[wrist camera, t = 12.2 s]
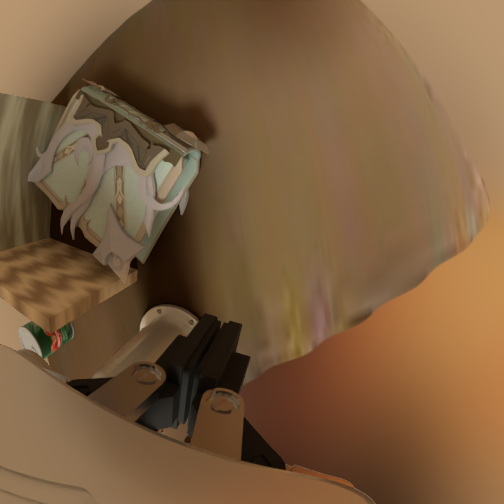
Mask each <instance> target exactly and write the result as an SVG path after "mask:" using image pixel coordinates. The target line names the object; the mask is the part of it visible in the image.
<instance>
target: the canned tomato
mask: <svg viewBox="0 0 504 504" xmlns="http://www.w3.org/2000/svg"><path fill="white" fill-rule="evenodd" d="M73 336H74V328H73V325H72V322H69V323H67V324H66V325H64V326H63V327H61V328H59V329H58V330H56V331H55V332H53V333H52V334H50V333H49V332H47V331H46V330H44V329H43V328H41V327H40V326H38V325H37V324H35V323H34V322H33V321H31V322H29V323H27V324H26V325H24V326H22V327H20V328H19V338H20V341H21V344H22V346H23V348H24V349H29V350H32V351H34V352H36V353H37V354H38V355H40V356H41V357H42V358H43V359H45V358H46V357H47V356H49V355H50V354H51V353H53V352H54V351H56V350H57V349H58V348H60V347H61V346H63V345H64V344H65V343H67V342H68V341H69V340H71V339H72V338H73Z"/></svg>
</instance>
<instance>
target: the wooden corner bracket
mask: <svg viewBox="0 0 504 504" xmlns="http://www.w3.org/2000/svg"><path fill="white" fill-rule="evenodd" d="M66 108H67V107H65V106H61V105H57V104H53V103H48V102H44V101H39V100H34V99H30V98H24V97H19V96H14V95H8V94H2V93H0V297H1V298H2V299H3V300H5V301H6V302H7V303H8V304H10V305H11V306H12V307H14V308H15V309H16V310H18V311H19V312H20V313H22V314H23V315H24V316H26V317H27V318H29V319H30V320H31V321H33V322H34V323H35V324H37V325H38V326H40V327H41V328H43V329H44V330H46V331H47V332H49V333H50V334H52V333H53V332H55V331H56V330H58V329H59V328H61V327H63V326H64V325H66V324H67V323H69V322H71V321H72V320H74V319H75V318H77V317H79V316H80V315H82V314H83V313H85V312H87V311H88V310H90V309H91V308H93V307H95V306H96V305H98V304H100V303H101V302H103V301H105V300H106V299H108V298H110V297H111V296H113V295H115V294H116V293H118V292H120V291H121V290H123V289H125V288H126V287H128V286H130V285H131V284H133V283H135V282H136V281H137V274H138V270H137V269H134V268H131V267H130V268H129V272H128V275H127V279H126V283H125V284H124V283H123V282H122V280H121V279H120V278H119V277H118V276H117V275H116V273H115V272H114V271H113V270H112V268H111V267H110V266H109V264H107V265H103V264H102V263H100V262H99V261H98V260H97V259H96V258H95V257H94V256H93V255H92V254H91V253H89V252H86V251H83V250H80V249H78V248H75V247H72V246H70V245H67V244H65V243H62V242H59V241H57V240H54V239H52V238H50V220H51V205H52V201H51V200H50V199H49V197H48V196H47V195H46V194H45V193H44V192H43V191H42V190H41V189H40V188H39V187H37V186H36V184H35V182H29V181H28V175H29V173H30V172H31V170H32V169H33V168H34V166H35V165H36V163H37V162H38V160H39V159H40V158H41V157H38V156H37V153H36V146H37V147H38V149H39V152H40V153H41V154H42V153H44V152H46V150H47V148H48V146H49V144H50V141H51V139H52V137H53V135H54V132H55V130H56V128H57V126H58V124H59V122H60V119H61V117H62V115H63V113H64V111H65V109H66Z"/></svg>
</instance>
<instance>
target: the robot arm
mask: <svg viewBox="0 0 504 504" xmlns="http://www.w3.org/2000/svg"><path fill="white" fill-rule="evenodd" d="M192 320H193V321H192ZM220 326H221V321H218V320H217V317H216V316H213V315H209V314H206V313H205V314H204V315H203V316H202V318H201V319H200V320H199V319H198V318H197V317H196V316H195V315H193V314H192V313H191V312H189V311H188V310H186V309H184V308H182V307H179V306H176V305H171V304H161V305H158V306H155V307H153V308H151V309H150V310H149V311H148V312H146V314H145V315H144V316H143V318H142V320H141V324H140V332H139V333H137V334H136V335H135V336H134V337H133V338H132V339H131V340H130V341H129V342H128V343H126V344H125V345H124V346H123V347H122V348H121V349H120V350H119V351H118V352H117V353H115V354H114V355H113V356H112V357H111V358H110V359H109V360H108V361H107V362H106V363H105V364H103V365H102V366H101V367H100V368H99V369H98V370H97V371H96V372H95V373H94V375H93V376H92V378H91V379H77V380H72V381H68V378H66V377H64V376H61V375H59V374H57V373H56V372H55V371H54V370H53V369H52V368H51V367H50V366H49V365H48V363H47V362H46V361H45V360H44V359H43V358H42V357H41V356H40V355H38V354H37V353H36V352H34V351H32V350H29V349H20V350H17V351H16V350H14V349H12V348H10V347H7V346H4V345H1V344H0V504H375V503H374V501H373V500H372V499H371V498H370V497H369V496H367V495H366V494H364V493H362V492H361V491H359V490H357V489H355V488H354V486H353V485H352V484H351V483H350V482H348V481H346V480H344V479H340V478H337V477H333V476H329V475H325V474H322V473H319V472H315V471H312V470H309V469H306V468H303V467H300V466H297V465H294V466H293V467H292V466H289V465H286V464H285V463H284V461H283V460H282V458H281V457H280V456H279V455H278V454H277V453H276V452H275V451H274V450H273V449H272V448H271V447H270V445H269V444H268V443H267V442H266V441H265V440H264V439H263V438H262V437H261V436H260V434H259V433H258V432H257V431H256V430H255V429H254V428H253V427H252V425H251V424H250V423H249V422H248V421H247V420H246V419H245V417H244V401H243V400H242V398H241V397H240V396H239V393H240V391H241V388H242V385H243V381H244V378H245V375H246V371H247V368H248V364H249V361H250V356H247V355H243V354H240V353H236V349H237V345H238V340H239V336H240V332H241V328H242V324H240V323H236V322H233V321H229V323H225V322H224V324H223V325H222V327H221V329H220ZM188 416H189V417H188ZM187 418H188V432H187V433H188V435H189V436H190V438H191V443H190V445H189V444H186V443H184V442H181V441H178V440H176V439H173V438H170V437H168V436H166V435H163V434H162V433H163V431H164V428H168V427H172V428H174V429H177V427H178V425H179V423H182V424H185V422H186V420H187Z"/></svg>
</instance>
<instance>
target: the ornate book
mask: <svg viewBox="0 0 504 504" xmlns="http://www.w3.org/2000/svg"><path fill="white" fill-rule="evenodd" d="M83 80H84V79H83ZM85 81H87V80H85ZM88 82H89V84H91V85H93V86H86V87H83V88H81V89H79V90H78V91H77V92H76V93H74V95H73V96H72V98H71V100H70V102H69V104H68V106H67V108H66V109H65V111H64V113H63V115H62V117H61V119H60V122H59V124H58V126H57V128H56V130H55V132H54V135H53V137H52V139H51V141H50V144H49V146H48V148H47V150H46V152H44V153H42V154H41V153H40V152H39V149H38V147H37V146H36V153H37V156H38V157H41V158H40V159H39V160H38V162H37V163H36V165H35V166H34V168H33V169H32V170H31V172H30V173H29V175H28V181H29V182H35V184H36V186H37V187H39V188H40V189H41V190H42V191H43V192H44V193H45V194H46V195H47V196H48V197H49V199H50V200H51V201H52V202H53V204H54V205H55V206H56V208H57V209H58V210H63V211H64V212H63V214H62V217H61V223H60V226H61V234H63V228H64V225H65V224H66V222H67V221H68V220H69V221H70V222H71V225H70V229H71V234H72V238H73V240H74V233H75V227H76V226H77V227H79V228H80V229H81V230H82V231H83V234H84V236H85V238H86V239H87V240H89V241H90V242H91V243H92V244H94V245H95V246H96V247H97V249H96V250H95V251H94V253H93V254H92V255H93V256H94V257H95V258H96V259H97V260H98V261H99V262H100V263H102V264H103V265H107V264H109V266H110V267H111V268H112V270H113V271H114V272H115V273H116V275H117V276H118V277H119V278H120V279H121V280H122V282H123V283H124V284H125V283H126V279H127V275H128V272H129V268H130V263H131V261H132V259H133V258H134V257H136V258H137V259H138V260H139V261H140V262H141V263H143V264H144V263H145V261H146V259H147V257H148V256H149V254H150V252H151V250H152V248H153V247H154V245H155V243H156V241H157V240H158V238H159V236H160V234H161V233H162V231H163V229H164V228H165V226H166V224H167V223H168V221H169V219H170V217H171V216H172V214H173V213H174V211H175V209H176V208H177V206H178V204H179V206H180V213H181V215H183V213H184V210H185V208H186V206H187V202H188V198H189V187H190V185H191V184H192V182H193V181H194V179H195V178H196V176H197V175H198V173H199V166H200V157H201V151H202V152H204V153H206V154H208V155H209V151H208V146H207V145H206V144H205V143H203V142H202V141H201V140H200V139H199V138H197V137H196V136H195V134H194V133H193V132H190V131H185V130H183V129H182V128H180V127H179V126H178V125H176V124H175V123H172V124H168V125H164V126H165V127H164V126H163V125H161V124H160V123H158V122H157V121H156V120H154V119H152V118H150V117H148V116H147V115H145V114H143V113H141V112H140V111H138V110H137V109H135V107H133V106H131V105H129V104H128V103H126V102H125V101H122V100H121V99H118V98H116V97H115V96H116V95H117V94H115V93H114V92H112V91H110V90H109V89H106V88H104V87H103V86H101V85H97V84H96V83H94V82H91V81H87V83H88ZM108 92H109V93H108ZM110 93H111V94H113V95H114V96H113V95H111V94H110ZM117 96H118V95H117ZM119 97H120V96H119ZM120 98H121V97H120Z"/></svg>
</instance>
